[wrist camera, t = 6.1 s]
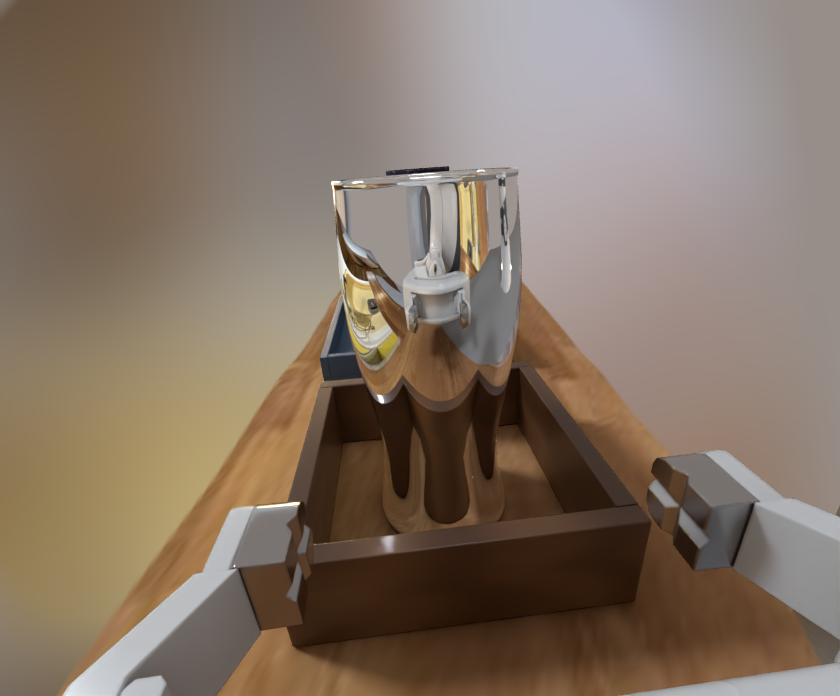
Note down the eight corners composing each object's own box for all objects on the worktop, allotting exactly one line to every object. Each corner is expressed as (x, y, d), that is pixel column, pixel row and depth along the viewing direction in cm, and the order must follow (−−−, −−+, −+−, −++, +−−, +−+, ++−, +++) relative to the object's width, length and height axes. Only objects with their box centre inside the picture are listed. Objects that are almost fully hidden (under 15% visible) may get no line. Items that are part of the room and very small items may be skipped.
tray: (470, 302, 49) (470, 283, 48) (513, 365, 33) (514, 338, 32) (342, 314, 48) (339, 295, 47) (324, 385, 33) (319, 357, 32)
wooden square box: (526, 415, 27) (528, 360, 25) (635, 601, 15) (652, 521, 14) (331, 436, 26) (320, 381, 24) (292, 647, 15) (267, 569, 13)
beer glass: (351, 541, 19) (284, 185, 13) (400, 446, 25) (371, 176, 19) (507, 572, 17) (517, 169, 11) (519, 461, 23) (530, 165, 17)
